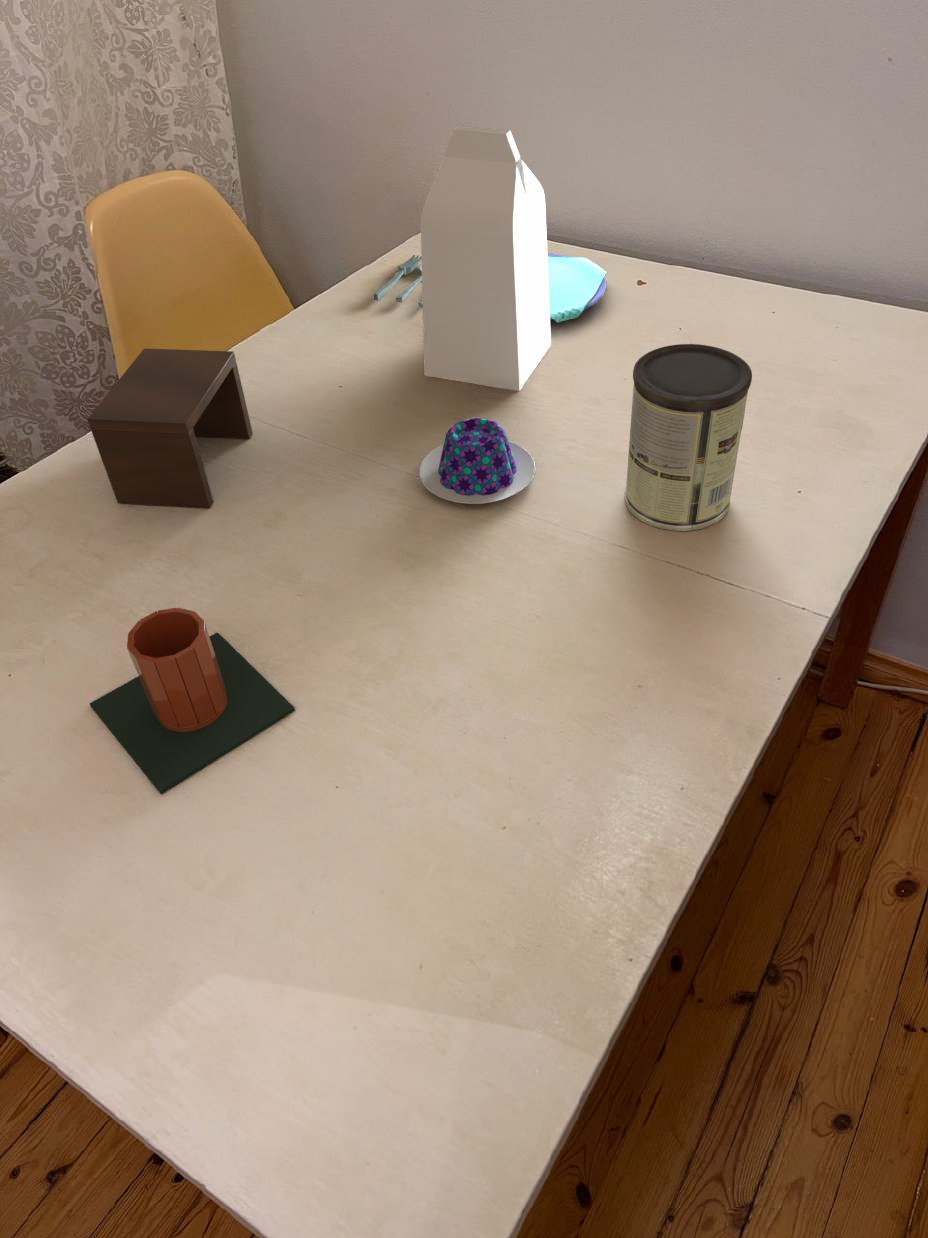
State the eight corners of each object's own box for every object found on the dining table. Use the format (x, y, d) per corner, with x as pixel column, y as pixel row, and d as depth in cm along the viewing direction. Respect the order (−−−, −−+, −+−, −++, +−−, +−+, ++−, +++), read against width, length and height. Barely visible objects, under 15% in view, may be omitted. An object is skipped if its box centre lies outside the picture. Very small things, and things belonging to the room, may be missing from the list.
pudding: (434, 438, 105) (430, 396, 101) (543, 446, 103) (543, 403, 99) (406, 504, 96) (402, 460, 93) (525, 514, 94) (525, 470, 91)
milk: (424, 375, 115) (405, 143, 97) (461, 331, 123) (449, 108, 105) (519, 391, 111) (517, 152, 94) (551, 344, 119) (554, 116, 101)
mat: (161, 795, 72) (159, 791, 71) (90, 706, 78) (89, 703, 78) (295, 710, 77) (294, 707, 77) (218, 635, 84) (217, 631, 84)
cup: (177, 744, 75) (149, 673, 69) (143, 704, 78) (113, 633, 72) (240, 706, 77) (218, 634, 72) (204, 668, 80) (180, 597, 75)
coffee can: (641, 461, 100) (652, 335, 90) (740, 482, 97) (764, 353, 87) (608, 518, 93) (617, 388, 84) (714, 542, 90) (736, 410, 80)
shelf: (210, 509, 97) (185, 423, 91) (117, 503, 99) (86, 419, 92) (252, 433, 107) (234, 351, 101) (168, 429, 109) (144, 347, 102)
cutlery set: (582, 341, 119) (582, 324, 118) (363, 311, 128) (361, 294, 126) (622, 274, 132) (624, 258, 131) (422, 251, 141) (421, 235, 140)
